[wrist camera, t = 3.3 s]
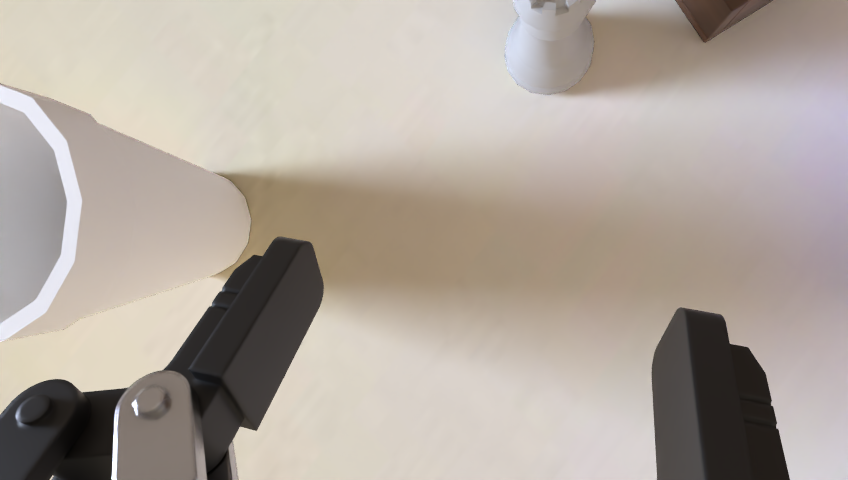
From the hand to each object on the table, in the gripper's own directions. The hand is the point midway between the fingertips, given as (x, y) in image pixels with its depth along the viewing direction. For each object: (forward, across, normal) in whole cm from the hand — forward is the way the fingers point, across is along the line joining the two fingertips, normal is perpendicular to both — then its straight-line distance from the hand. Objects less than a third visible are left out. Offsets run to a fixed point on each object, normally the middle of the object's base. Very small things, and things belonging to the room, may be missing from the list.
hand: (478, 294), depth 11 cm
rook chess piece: (+19, 0, +3) cm, 20 cm away
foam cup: (+11, +18, +12) cm, 24 cm away
